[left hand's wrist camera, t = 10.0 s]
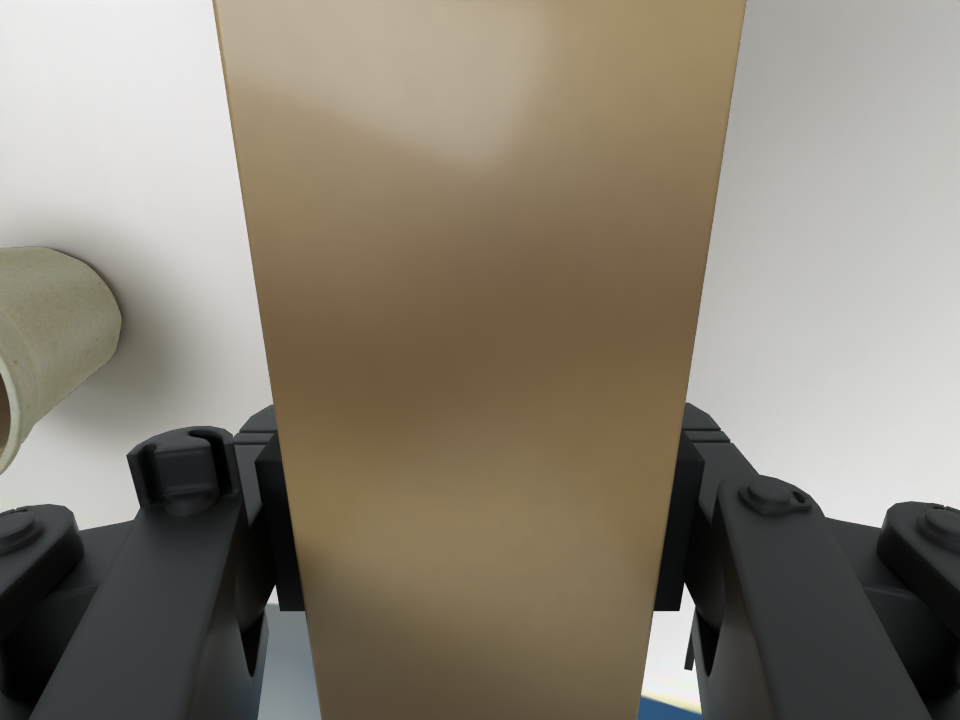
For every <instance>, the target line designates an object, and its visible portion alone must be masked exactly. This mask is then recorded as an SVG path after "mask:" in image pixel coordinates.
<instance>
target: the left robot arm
mask: <svg viewBox="0 0 960 720" xmlns="http://www.w3.org/2000/svg"><path fill="white" fill-rule="evenodd" d="M126 456H127V460H128V463H129V467H130V471H131V474H132V478H133V482H134V485H135V489H136V493H137V497H138V500H139V504H140V509H139V511H138V513H137V515H136V517H135V519H134V520H131V521H127V522H123V523H118V524H113V525H107V526H102V527H97V528H92V529H86V530H81V531H79V529H78V526H77V523H76V520H75V517H74V514H73V512H72V511H70V510H69V509H68V508H66V507H65V506H59V505H52V504H45V505H35V506H24V507H20V508H17V509H16V510H14V509H12V510H9V511H5V512H2V513H0V720H257V718H258V711H259V703H260V695H261V688H262V680H263V673H264V665H265V658H266V650H267V642H268V635H269V630H268V623H267V617H266V611H265V606H266V603H267V601H268V599H269V597H270V595H271V593H272V590H273V588H274V586H275V584H276V590H277V595H278V601H279V607H280V611H305V607H304V601H303V594H302V587H301V581H300V574H299V568H298V561H297V555H296V548H295V541H294V535H293V528H292V522H291V515H290V508H289V502H288V495H287V489H286V482H285V476H284V469H283V462H282V456H281V449H280V443H279V436H278V429H277V423H276V416H275V410H274V405H270V406H268V407H266V408H265V409H263V410H261V411H260V412H258V413H256V414H255V415H253V416H251V417H250V418H249V420H248V421H247V422H246V423H245V424H244V426H243V427H242V428H241V429H240V430H239V433H237V434H236V435H235V436H234V438H233V435H232V434H231V433H229V432H228V431H226V430H225V429H222V428H217V427H212V426H192V427H186V428H181V429H175V430H171V431H168V432H165V433H162V434H159V435H156V436H153V437H151V438H150V439H148V440H146V441H144V442H142V443H140V444H139V445H137V446H136V447H135V448H134V449H133V450H131V451H130V452H129V453H128V454H127V455H126ZM684 582H685V584H686V586H687V588H688V590H689V593H690V595H691V597H692V599H693V601H694V603H695V605H696V606H695V611H694V617H693V622H692V627H691V633H690V638H689V643H688V649H687V654H686V660H685V667H684V669H686V670H691V671H692V668H693V663H694V659H695V664H696V671H697V679H698V687H699V694H700V702H701V709H702V717H703V720H960V510H958V509H955V508H951V507H948V506H946V507H944V505H940V504H935V503H923V502H913V501H910V502H903V503H896V504H895V505H893V506H892V507H891V508H889V509H888V510H887V513H886V516H885V519H884V522H883V525H882V528H877V527H871V526H866V525H861V524H856V523H850V522H845V521H840V520H835V519H831V518H827V517H825V516H824V514H823V512H822V510H821V508H820V507H819V505H818V504H817V503H816V502H815V501H814V500H813V498H812V497H811V496H810V495H808V494H807V493H805V492H804V491H802V490H801V489H799V488H798V487H796V486H794V485H792V484H789V483H787V482H784V481H782V480H779V479H777V478H773V477H768V476H763V475H759V474H758V473H757V471H756V470H755V469H754V468H753V467H752V465H751V464H750V463H749V462H748V461H747V459H746V458H745V457H744V456H743V455H742V453H741V452H740V451H739V450H738V449H737V447H736V446H735V445H734V444H733V443H730V439H729V438H728V437H727V435H726V434H725V433H724V432H723V431H721V428H720V427H719V426H718V425H717V424H716V422H715V421H714V420H713V419H712V418H711V416H710V415H709V414H707V413H705V412H704V411H702V410H700V409H699V408H697V407H695V406H693V405H692V404H690V403H685V407H684V414H683V420H682V427H681V434H680V440H679V447H678V453H677V460H676V467H675V473H674V480H673V486H672V493H671V499H670V506H669V513H668V519H667V526H666V532H665V539H664V546H663V552H662V559H661V565H660V572H659V578H658V585H657V592H656V598H655V605H654V611H680V605H681V599H682V593H683V588H684Z"/></svg>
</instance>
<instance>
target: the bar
mask: <svg viewBox="0 0 960 720" xmlns="http://www.w3.org/2000/svg"><path fill="white" fill-rule="evenodd" d="M212 1H213V8H214V15H215V21H216V28H217V34H218V41H219V48H220V54H221V61H222V67H223V74H224V80H225V87H226V94H227V100H228V107H229V113H230V120H231V127H232V133H233V140H234V146H235V153H236V159H237V166H238V173H239V179H240V186H241V192H242V199H243V206H244V212H245V219H246V225H247V232H248V238H249V245H250V252H251V258H252V265H253V271H254V278H255V285H256V291H257V298H258V304H259V311H260V317H261V324H262V331H263V337H264V344H265V350H266V357H267V364H268V370H269V377H270V383H271V390H272V396H273V403H274V410H275V416H276V423H277V429H278V436H279V443H280V449H281V456H282V462H283V469H284V476H285V482H286V489H287V495H288V502H289V508H290V515H291V522H292V528H293V535H294V541H295V548H296V555H297V561H298V568H299V574H300V581H301V587H302V594H303V601H304V607H305V614H306V620H307V627H308V633H309V640H310V647H311V653H312V660H313V666H314V673H315V680H316V686H317V693H318V699H319V706H320V713H321V719H322V720H637V717H638V710H639V704H640V697H641V690H642V684H643V677H644V671H645V664H646V658H647V651H648V644H649V638H650V631H651V625H652V618H653V611H654V605H655V598H656V592H657V585H658V578H659V572H660V565H661V559H662V552H663V546H664V539H665V532H666V526H667V519H668V513H669V506H670V499H671V493H672V486H673V480H674V473H675V467H676V460H677V453H678V447H679V440H680V434H681V427H682V420H683V414H684V407H685V401H686V394H687V388H688V381H689V374H690V368H691V361H692V355H693V348H694V341H695V335H696V328H697V322H698V315H699V309H700V302H701V295H702V289H703V282H704V276H705V269H706V262H707V256H708V249H709V243H710V236H711V229H712V223H713V216H714V210H715V203H716V197H717V190H718V183H719V177H720V170H721V164H722V157H723V150H724V144H725V137H726V131H727V124H728V118H729V111H730V104H731V98H732V91H733V85H734V78H735V71H736V65H737V58H738V52H739V45H740V39H741V32H742V25H743V19H744V12H745V6H746V0H212Z"/></svg>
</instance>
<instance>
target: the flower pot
mask: <svg viewBox="0 0 960 720" xmlns="http://www.w3.org/2000/svg"><path fill="white" fill-rule="evenodd" d="M121 324H122V319H121V315H120V311H119V308H118V305H117V302H116V300H115V298H114V296H113V294H112V292H111V291H110V289H109V288H108V286H107V285H106V284H105V282H104V281H103V280H102V279H101V278H100V276H99V275H98V274H97V273H96V272H95V271H94V270H92V269H91V268H90V267H89V266H88V265H86V264H85V263H84V262H82V261H80V260H78V259H75V258H73V257H70V256H68V255H65V254H63V253H60V252H58V251H55V250H53V249H50V248H46V247H38V246H30V247H17V248H0V475H1V474H2V473H3V472H4V471H5V470H6V469H7V468H8V466H9V465H10V464H11V463H12V461H13V460H14V458H15V456H16V455H17V453H18V450H19V448H20V446H21V444H22V443H23V442H24V440H25V439H26V438H27V436H28V435H29V433H30V431H31V429H32V427H33V425H34V424H35V423H36V422H38V421H39V420H40V419H41V418H42V417H43V416H45V415H46V414H47V413H48V412H49V411H50V410H51V409H53V408H54V407H55V406H56V405H57V404H58V403H60V402H61V401H62V400H63V399H64V398H65V397H67V396H68V395H69V394H70V393H71V392H72V391H73V390H75V389H76V388H77V387H78V386H79V385H80V384H81V383H83V382H84V381H85V380H86V379H87V378H89V377H90V376H91V375H92V374H93V373H95V372H96V371H97V370H98V369H99V368H101V367H102V366H103V365H105V364H106V363H107V362H108V361H109V360H110V359H111V358H112V356H113V355H114V354H115V352H116V349H117V344H118V340H119V335H120V329H121Z"/></svg>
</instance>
